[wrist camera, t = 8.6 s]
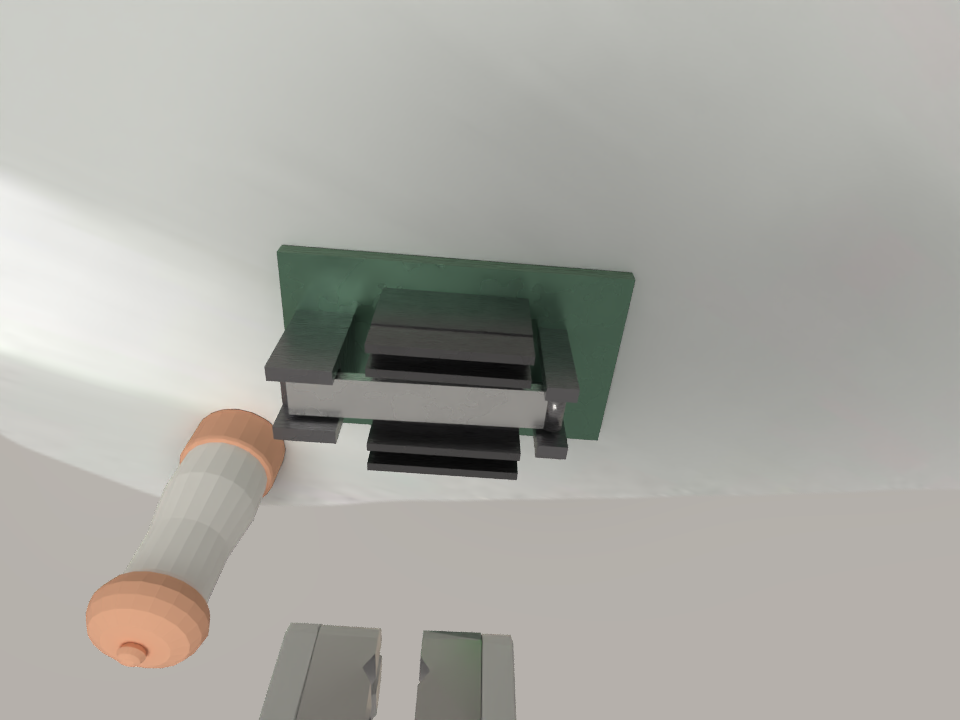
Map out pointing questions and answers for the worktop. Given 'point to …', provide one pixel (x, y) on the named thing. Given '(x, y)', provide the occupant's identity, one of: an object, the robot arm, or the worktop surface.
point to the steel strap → (426, 402)
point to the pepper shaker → (187, 544)
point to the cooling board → (448, 347)
